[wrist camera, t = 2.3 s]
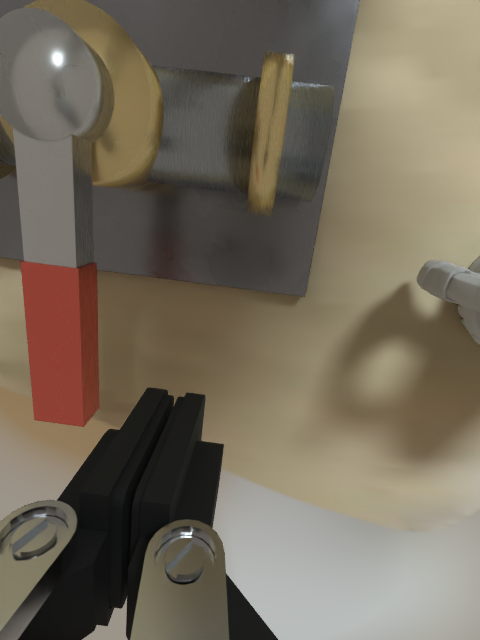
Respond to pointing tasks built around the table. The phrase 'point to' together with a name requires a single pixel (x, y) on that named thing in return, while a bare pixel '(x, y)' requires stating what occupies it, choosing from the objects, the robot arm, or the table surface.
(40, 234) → the lever
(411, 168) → the table surface
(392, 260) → the table surface
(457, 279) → the mug
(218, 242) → the valve body
